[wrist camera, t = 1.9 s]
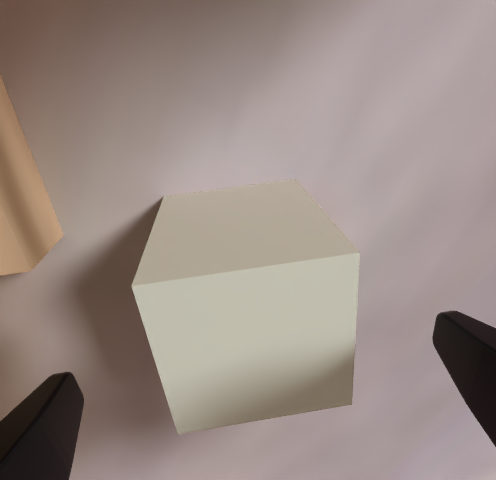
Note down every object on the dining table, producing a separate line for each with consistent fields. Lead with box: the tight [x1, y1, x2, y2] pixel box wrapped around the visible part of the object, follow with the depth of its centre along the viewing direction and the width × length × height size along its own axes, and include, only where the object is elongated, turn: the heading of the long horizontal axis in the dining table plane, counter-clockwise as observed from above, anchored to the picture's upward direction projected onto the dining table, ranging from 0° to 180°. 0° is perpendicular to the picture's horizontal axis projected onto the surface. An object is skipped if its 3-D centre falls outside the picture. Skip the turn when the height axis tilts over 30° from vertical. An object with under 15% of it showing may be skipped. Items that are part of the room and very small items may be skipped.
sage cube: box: [132, 179, 360, 434], centre depth 11 cm, size 5×5×6 cm
